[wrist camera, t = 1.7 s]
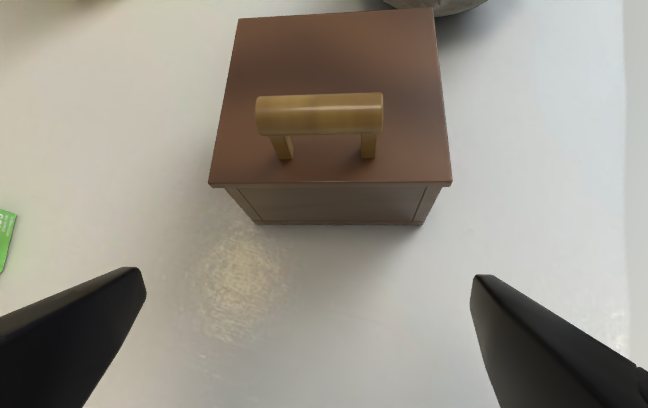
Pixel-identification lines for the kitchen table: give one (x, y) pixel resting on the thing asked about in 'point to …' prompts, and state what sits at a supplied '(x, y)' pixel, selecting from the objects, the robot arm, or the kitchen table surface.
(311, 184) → the lid
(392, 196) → the chest
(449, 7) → the bowl
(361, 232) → the kitchen table surface
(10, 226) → the ink box
